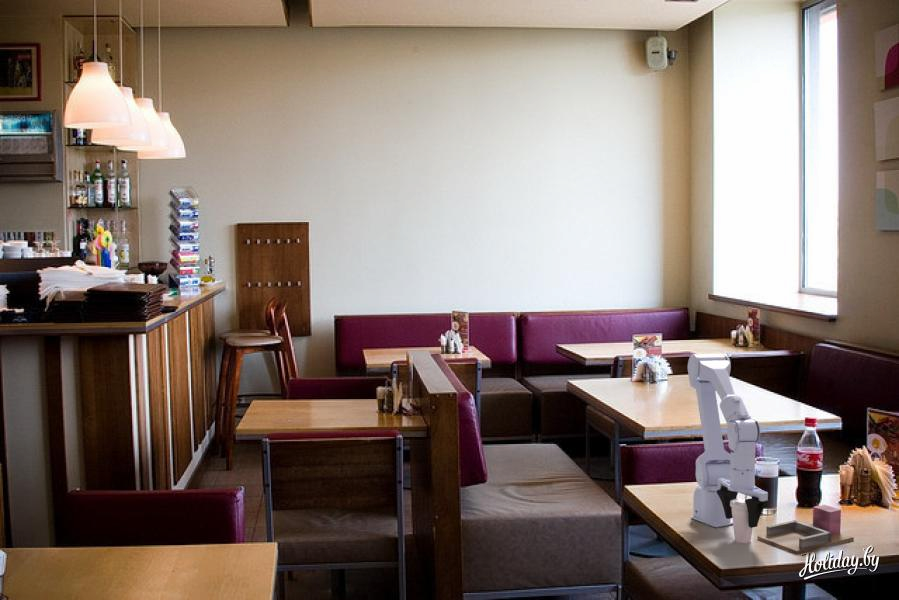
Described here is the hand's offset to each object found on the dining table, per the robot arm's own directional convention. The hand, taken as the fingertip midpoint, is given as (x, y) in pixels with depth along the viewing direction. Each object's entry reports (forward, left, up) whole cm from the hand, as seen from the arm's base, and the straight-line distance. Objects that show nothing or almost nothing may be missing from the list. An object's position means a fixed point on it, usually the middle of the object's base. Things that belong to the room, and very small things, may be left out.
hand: (741, 522), depth 226 cm
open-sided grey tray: (+7, +15, -5) cm, 17 cm away
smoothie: (0, +1, -5) cm, 5 cm away
